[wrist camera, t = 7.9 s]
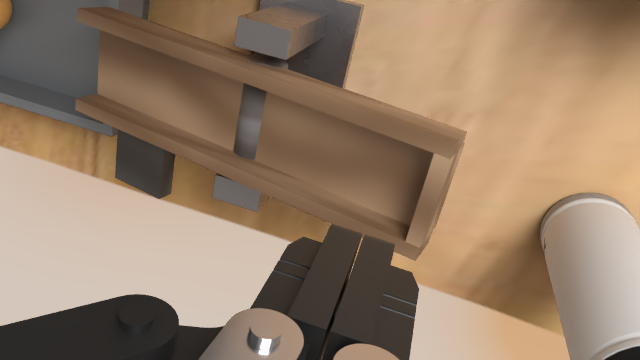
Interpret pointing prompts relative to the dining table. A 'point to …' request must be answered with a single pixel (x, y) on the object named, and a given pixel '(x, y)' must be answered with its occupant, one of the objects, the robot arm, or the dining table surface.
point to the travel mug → (595, 275)
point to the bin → (55, 58)
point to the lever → (267, 131)
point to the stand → (295, 56)
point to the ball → (5, 12)
